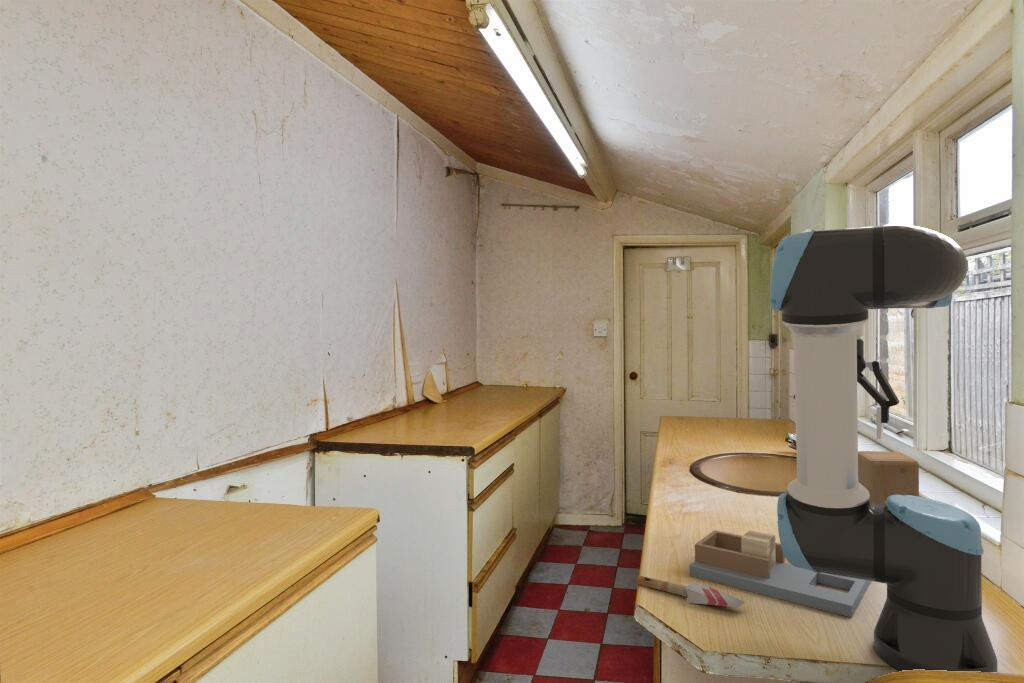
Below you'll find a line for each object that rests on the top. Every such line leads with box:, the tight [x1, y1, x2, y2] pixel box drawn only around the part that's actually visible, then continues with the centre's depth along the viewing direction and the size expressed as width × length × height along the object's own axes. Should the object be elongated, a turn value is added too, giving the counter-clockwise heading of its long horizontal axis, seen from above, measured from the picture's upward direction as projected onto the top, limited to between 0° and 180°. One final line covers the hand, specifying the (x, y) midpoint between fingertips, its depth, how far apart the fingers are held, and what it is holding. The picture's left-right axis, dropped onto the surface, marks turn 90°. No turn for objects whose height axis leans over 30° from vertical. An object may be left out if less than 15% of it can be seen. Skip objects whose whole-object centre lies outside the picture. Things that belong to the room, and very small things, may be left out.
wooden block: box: [858, 450, 920, 505], centre depth 137 cm, size 10×10×20 cm
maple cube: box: [741, 529, 776, 570], centre depth 121 cm, size 5×5×6 cm
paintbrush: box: [636, 575, 746, 608], centre depth 112 cm, size 4×3×20 cm
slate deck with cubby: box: [689, 529, 872, 618], centre depth 120 cm, size 20×29×6 cm
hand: (844, 435), depth 133 cm, fingers open, 13 cm apart
